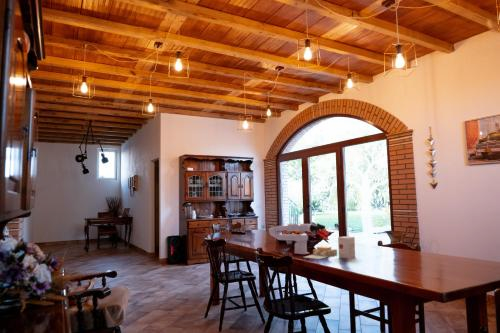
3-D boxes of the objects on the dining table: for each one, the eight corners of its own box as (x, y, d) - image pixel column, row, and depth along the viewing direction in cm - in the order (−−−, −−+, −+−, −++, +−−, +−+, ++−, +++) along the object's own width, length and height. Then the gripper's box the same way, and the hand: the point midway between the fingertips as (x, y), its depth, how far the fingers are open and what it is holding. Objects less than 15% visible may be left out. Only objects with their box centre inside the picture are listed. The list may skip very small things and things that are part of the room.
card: (317, 249, 278) (317, 247, 279) (321, 248, 283) (321, 246, 283) (327, 250, 272) (326, 248, 272) (331, 249, 276) (331, 247, 277)
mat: (303, 257, 269) (302, 257, 269) (312, 255, 278) (312, 254, 278) (318, 259, 259) (318, 258, 259) (328, 256, 268) (328, 256, 268)
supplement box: (338, 257, 265) (337, 237, 266) (345, 256, 271) (344, 236, 272) (349, 258, 258) (348, 238, 259) (355, 257, 264) (354, 236, 265)
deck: (313, 255, 278) (313, 249, 279) (321, 253, 287) (321, 248, 287) (328, 256, 269) (328, 251, 269) (337, 254, 277) (336, 249, 277)
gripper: (302, 223, 280) (316, 223, 270) (312, 221, 290) (326, 221, 281) (302, 232, 279) (317, 232, 270) (312, 230, 290) (327, 230, 280)
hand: (322, 227), depth 275 cm, fingers open, 7 cm apart
